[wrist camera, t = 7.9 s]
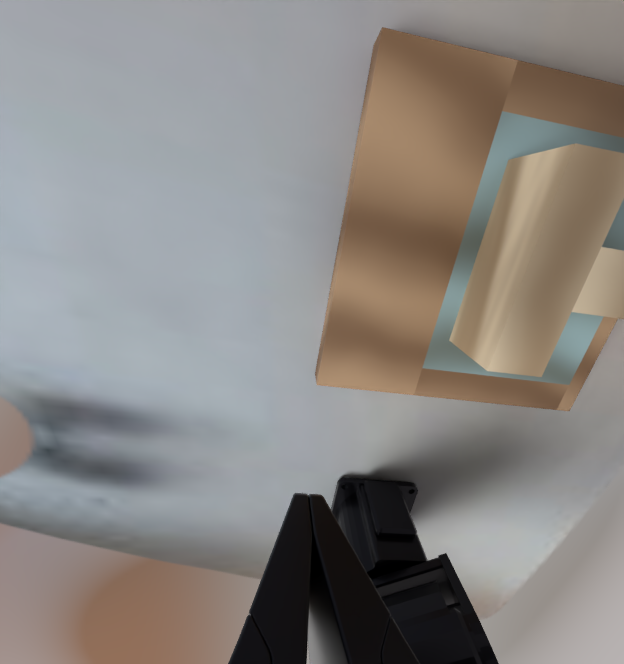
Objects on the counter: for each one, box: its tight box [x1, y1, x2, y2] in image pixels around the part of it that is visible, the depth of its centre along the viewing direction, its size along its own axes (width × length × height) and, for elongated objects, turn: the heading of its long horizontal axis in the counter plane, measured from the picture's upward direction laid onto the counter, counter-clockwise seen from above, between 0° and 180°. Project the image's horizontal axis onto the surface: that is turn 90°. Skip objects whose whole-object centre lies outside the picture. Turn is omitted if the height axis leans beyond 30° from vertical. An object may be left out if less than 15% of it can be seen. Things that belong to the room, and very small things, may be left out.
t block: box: [449, 143, 624, 377], centre depth 16 cm, size 10×10×4 cm
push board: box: [315, 27, 624, 411], centre depth 18 cm, size 18×18×2 cm
